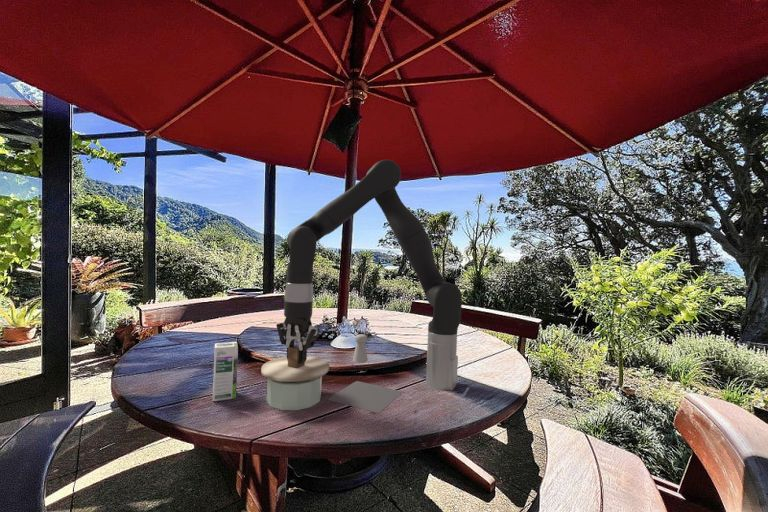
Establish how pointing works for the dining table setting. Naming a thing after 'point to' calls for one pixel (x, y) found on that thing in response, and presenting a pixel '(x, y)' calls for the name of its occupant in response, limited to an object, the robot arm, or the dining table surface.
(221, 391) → the syrup box
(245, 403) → the dining table surface
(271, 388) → the bowl
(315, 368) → the lid
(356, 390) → the mat
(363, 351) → the salt shaker
